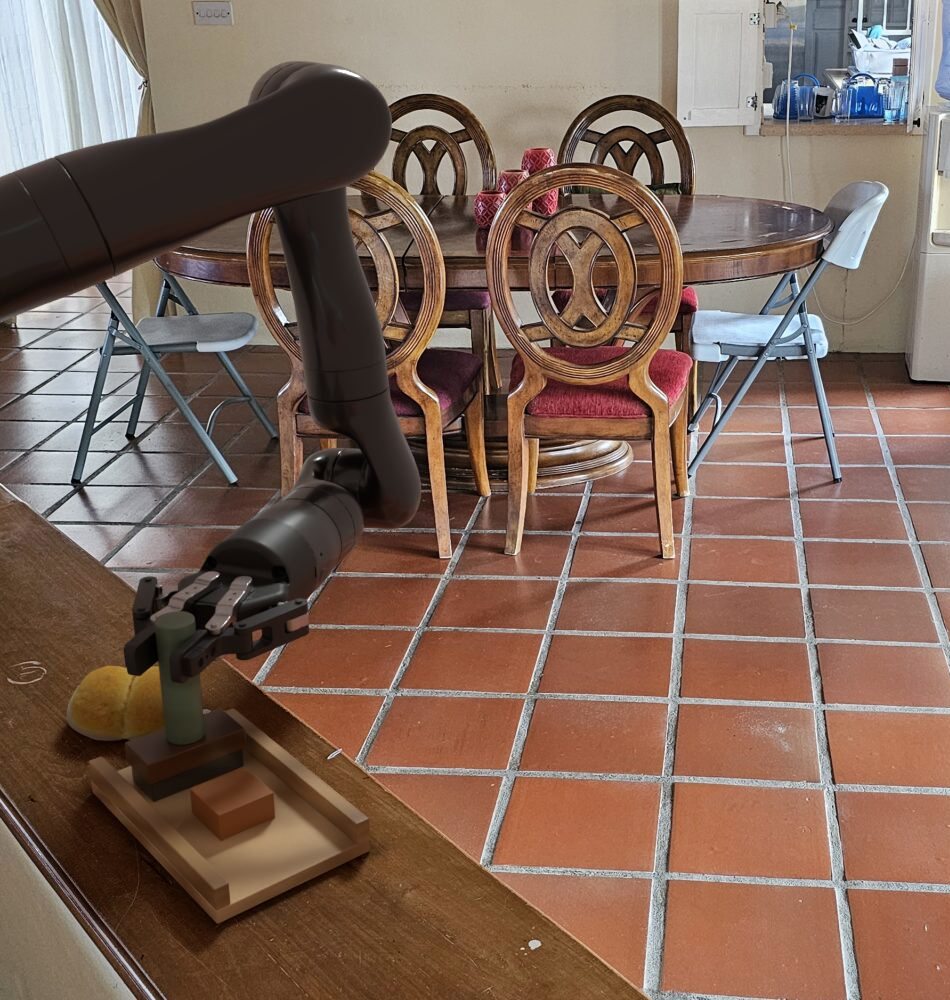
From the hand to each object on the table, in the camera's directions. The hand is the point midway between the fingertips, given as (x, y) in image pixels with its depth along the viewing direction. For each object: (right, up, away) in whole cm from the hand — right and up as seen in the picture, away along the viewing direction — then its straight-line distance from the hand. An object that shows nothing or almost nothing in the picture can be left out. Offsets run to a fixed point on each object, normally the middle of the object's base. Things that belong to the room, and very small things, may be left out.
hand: (153, 666), depth 85 cm
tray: (+4, -11, +3) cm, 12 cm away
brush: (0, -8, +6) cm, 11 cm away
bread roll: (-7, -6, +15) cm, 17 cm away
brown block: (+5, -10, +2) cm, 11 cm away
